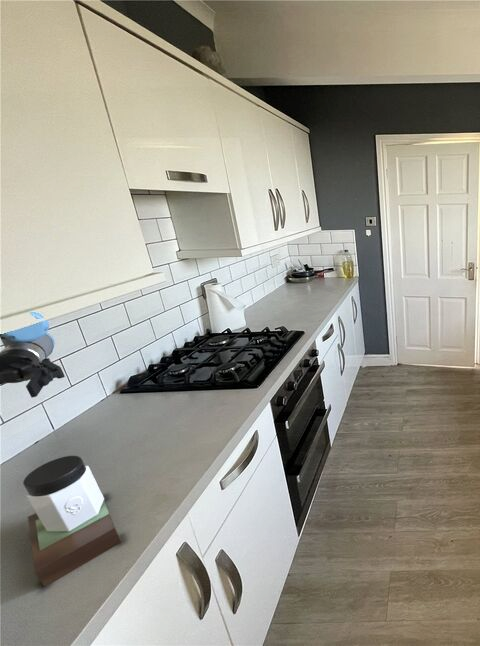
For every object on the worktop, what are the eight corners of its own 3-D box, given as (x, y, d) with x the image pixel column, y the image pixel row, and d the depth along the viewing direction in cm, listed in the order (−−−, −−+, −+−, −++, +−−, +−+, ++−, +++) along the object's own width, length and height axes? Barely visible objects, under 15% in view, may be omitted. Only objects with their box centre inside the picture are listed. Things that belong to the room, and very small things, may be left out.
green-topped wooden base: (38, 533, 74) (27, 515, 72) (105, 499, 82) (97, 483, 80) (46, 590, 63) (34, 571, 61) (123, 545, 71) (114, 527, 69)
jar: (54, 541, 66) (26, 494, 62) (41, 523, 70) (14, 477, 66) (112, 507, 74) (90, 462, 69) (97, 491, 78) (76, 448, 73)
